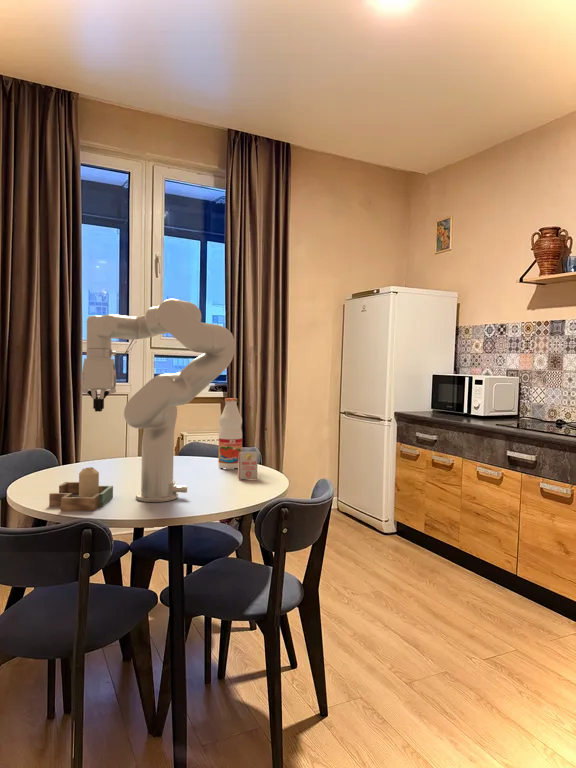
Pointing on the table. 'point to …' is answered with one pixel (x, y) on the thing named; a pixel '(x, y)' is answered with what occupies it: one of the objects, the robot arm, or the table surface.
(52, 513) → the table surface
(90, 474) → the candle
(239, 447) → the fruit juice
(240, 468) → the white red box
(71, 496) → the wooden tray
